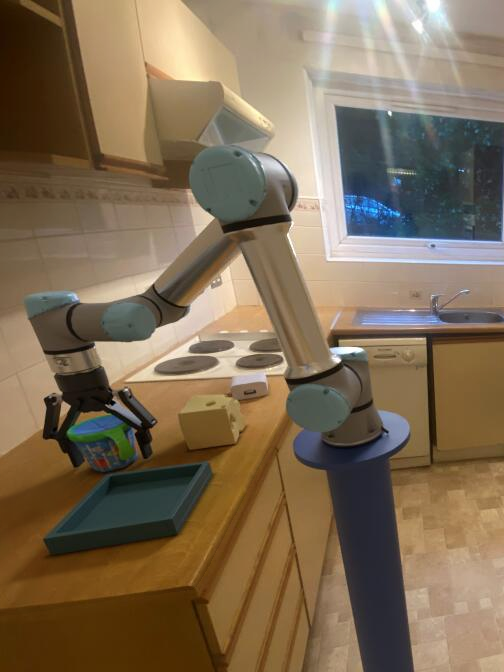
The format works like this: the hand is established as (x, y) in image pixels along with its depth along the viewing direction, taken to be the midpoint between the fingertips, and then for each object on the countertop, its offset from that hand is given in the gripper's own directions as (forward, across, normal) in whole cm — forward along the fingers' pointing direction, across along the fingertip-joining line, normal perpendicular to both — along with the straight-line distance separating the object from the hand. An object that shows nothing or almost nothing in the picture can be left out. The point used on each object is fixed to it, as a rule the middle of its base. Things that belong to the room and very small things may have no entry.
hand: (114, 460), depth 96 cm
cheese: (+1, +18, +7) cm, 19 cm away
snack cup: (+1, 0, 0) cm, 1 cm away
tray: (+1, +13, -20) cm, 24 cm away
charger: (+1, +18, +39) cm, 43 cm away
